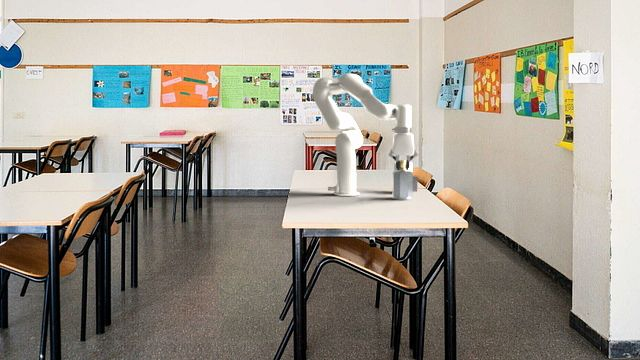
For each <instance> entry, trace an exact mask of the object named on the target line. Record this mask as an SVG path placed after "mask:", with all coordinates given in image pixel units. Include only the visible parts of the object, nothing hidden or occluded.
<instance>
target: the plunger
mask: <svg viewBox="0 0 640 360" xmlns="http://www.w3.org/2000/svg"><path fill="white" fill-rule="evenodd" d="M399 169H401V172H404V169H407V159H405V160H403V159H401V160H399Z"/></svg>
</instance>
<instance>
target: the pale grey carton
mask: <svg viewBox="0 0 640 360" xmlns="http://www.w3.org/2000/svg"><path fill="white" fill-rule="evenodd" d="M413 175H414V174H413V170H412V171H410V170H406V171H405V170H404V172H401V170H398V171H394V170H393V172H392V200H395V201H411V200H413V193H415V192H418V179H419V178H418V176H413Z"/></svg>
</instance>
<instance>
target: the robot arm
mask: <svg viewBox="0 0 640 360" xmlns="http://www.w3.org/2000/svg"><path fill="white" fill-rule="evenodd" d="M342 94H348V95H350V96H351V97H353V98H354V99H355V100H357V101H358V102H359V103H360V104H361V106H363V108H364V110H366V111H367V112H368V113H369V114H371V115H372V116H373V117H375V118H376V119H378V120H380V121H393V120H394V122H395V123H394V126H395V127H394V128H391V132H394V133H393V134H392V135H393V136H392V144H391V150H390V151H389V153H388V156H389V157H391V158H392V159H393V160H394V161H395V162H396V168H397V170H399V159H400V156H406V161H407V169H406V170H408V168H410V162H412V160H413V159H414V158H415V157H417V156H418V153H417V152H416V150H415V140H414V139H415V138H414V134H413V133H412V105H410V104H389V103H383V102H382V101H381V100H380V99H378V98H377V97H376V96H375V95H374V94H373V89H372V88H371V87H370V86H369V85H367V84H365V82H363V79H362V77H361V76H360V75H358V74H356V73H347V72H346V73H344V74H342V75H340V77H329V76H327V77H320V78H318V79H317V80H316V81H315V83H314V85H313V87H312V97H313V98H312V99H313V100H314V103H315V104H316V106H317V108H318V109H319V111H320V113H321V115H322V117H323V119H324V120H325V123H326V124H327V126H328V128H329V129H330V130H331V131H333V132H339V133H338V134H337V135H336V137H335V140H334V141H335V142H334V143H335V145H334V146H335V151H336V185H334V186H327V191H332V192H333V195H335V196H340V197H354V196H359V195H360V192H359V191H358V190H357V155H356V150H358V149H360V148H361V147H362V146H363V144H364V136H363V134H362V132H361V130H360V129H359V127H358V125H357V123H356V121H355V120H354V118H353V117H352V115H351V114H350V113H348V112H345V111H344V112H343V111H341V109H339V108H338V106H337V104H336V102H335V100H334V99H333V98H332V97H331V96H337V95H342Z"/></svg>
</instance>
